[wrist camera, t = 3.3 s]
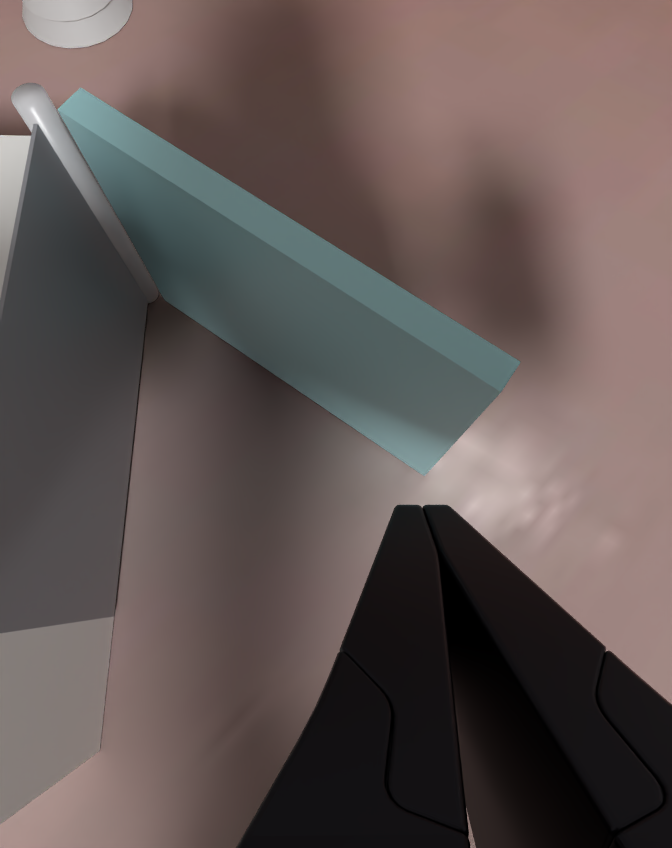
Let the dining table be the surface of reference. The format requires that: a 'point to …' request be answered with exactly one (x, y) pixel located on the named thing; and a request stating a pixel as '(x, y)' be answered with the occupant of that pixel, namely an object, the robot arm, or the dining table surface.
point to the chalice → (75, 20)
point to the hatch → (290, 294)
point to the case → (60, 446)
